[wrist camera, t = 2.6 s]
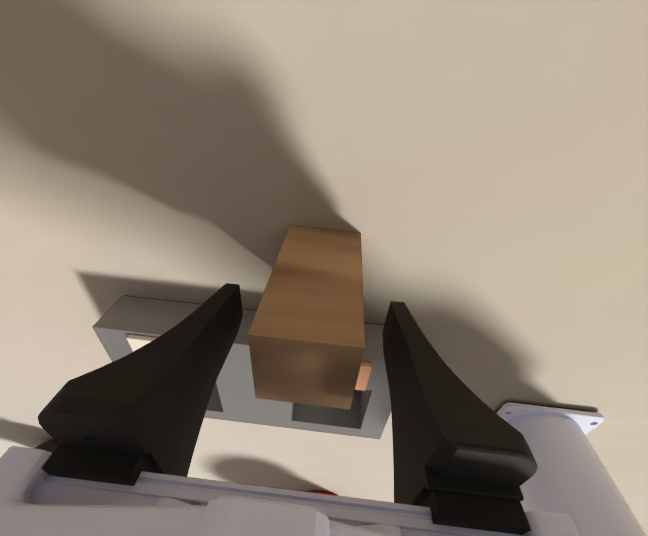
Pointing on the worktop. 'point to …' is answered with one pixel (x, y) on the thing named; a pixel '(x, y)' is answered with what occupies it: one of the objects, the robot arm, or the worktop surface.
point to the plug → (311, 321)
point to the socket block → (237, 379)
